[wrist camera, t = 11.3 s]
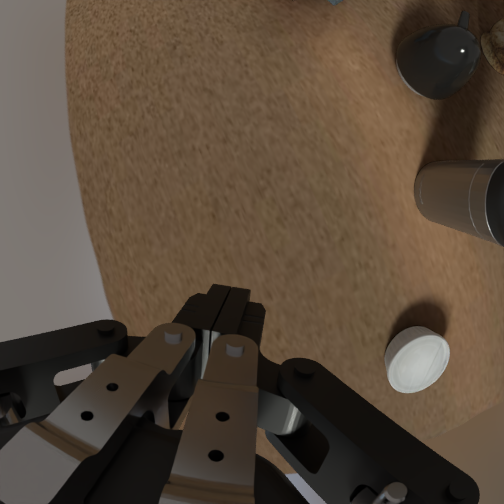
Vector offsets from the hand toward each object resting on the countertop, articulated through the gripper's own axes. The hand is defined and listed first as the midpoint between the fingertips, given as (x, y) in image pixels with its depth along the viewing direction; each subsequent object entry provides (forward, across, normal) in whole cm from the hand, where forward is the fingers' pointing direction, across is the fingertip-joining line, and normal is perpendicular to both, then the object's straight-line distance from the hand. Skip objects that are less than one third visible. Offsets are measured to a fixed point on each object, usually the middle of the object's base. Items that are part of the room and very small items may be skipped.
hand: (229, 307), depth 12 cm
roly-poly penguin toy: (+33, -19, -24) cm, 45 cm away
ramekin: (+31, -26, +20) cm, 46 cm away
